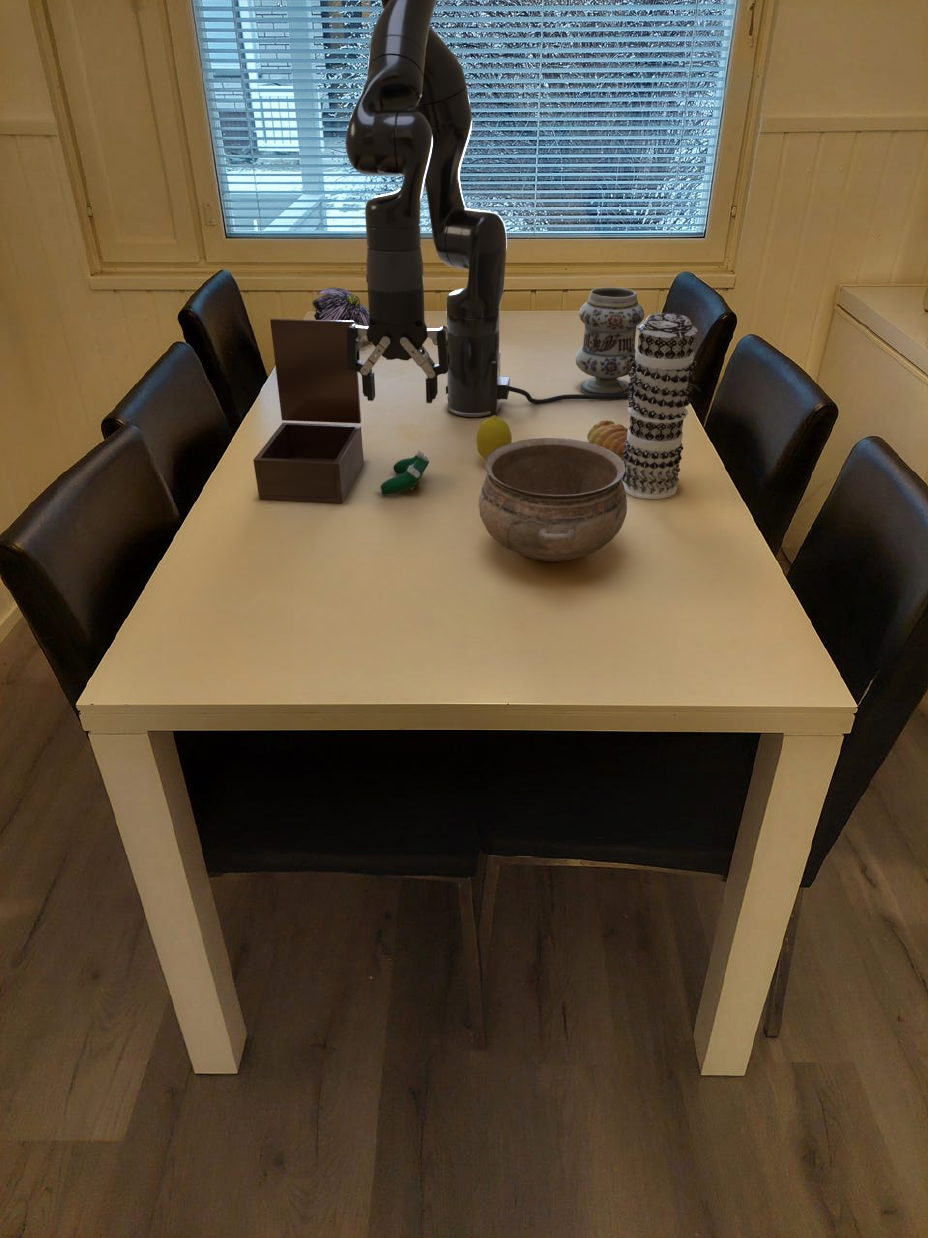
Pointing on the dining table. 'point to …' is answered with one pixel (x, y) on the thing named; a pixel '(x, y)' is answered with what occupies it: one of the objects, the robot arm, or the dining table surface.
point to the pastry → (609, 436)
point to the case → (309, 462)
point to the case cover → (315, 371)
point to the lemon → (492, 435)
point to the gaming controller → (406, 474)
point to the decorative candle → (658, 405)
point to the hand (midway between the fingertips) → (400, 400)
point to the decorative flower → (340, 307)
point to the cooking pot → (553, 498)
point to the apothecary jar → (608, 339)
